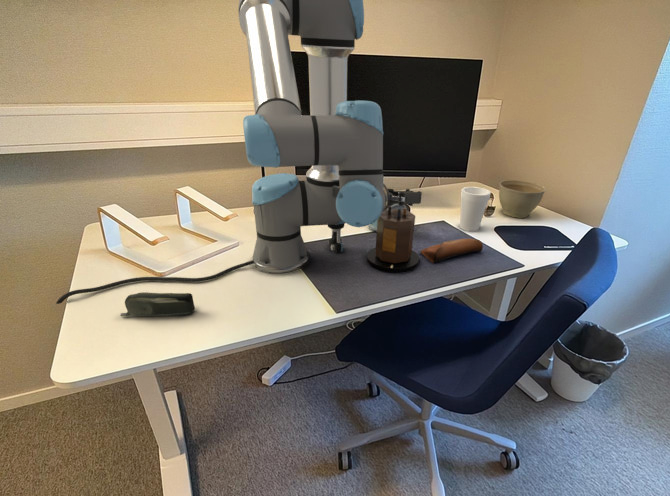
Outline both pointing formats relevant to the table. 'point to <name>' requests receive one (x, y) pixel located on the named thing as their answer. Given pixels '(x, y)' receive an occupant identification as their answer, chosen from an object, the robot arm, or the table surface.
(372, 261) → the base
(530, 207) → the planter bowl
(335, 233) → the push button
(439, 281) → the table surface
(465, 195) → the foam cup
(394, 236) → the pen carousel
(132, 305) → the dark green rounded block
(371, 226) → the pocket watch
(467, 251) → the sunglasses case
